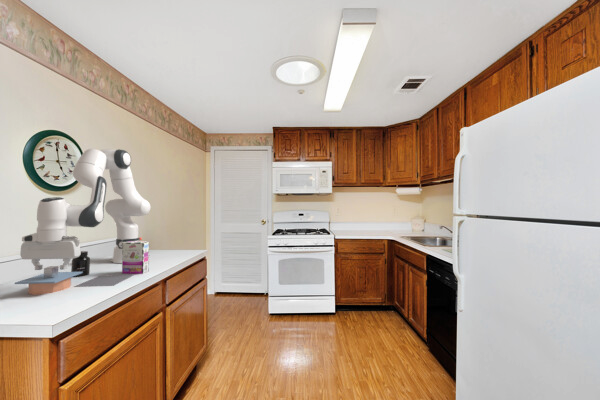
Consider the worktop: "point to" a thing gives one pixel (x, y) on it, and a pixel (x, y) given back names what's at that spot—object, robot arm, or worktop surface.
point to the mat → (104, 281)
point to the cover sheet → (48, 280)
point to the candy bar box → (135, 257)
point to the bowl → (49, 287)
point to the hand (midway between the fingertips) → (51, 269)
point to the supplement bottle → (81, 264)
